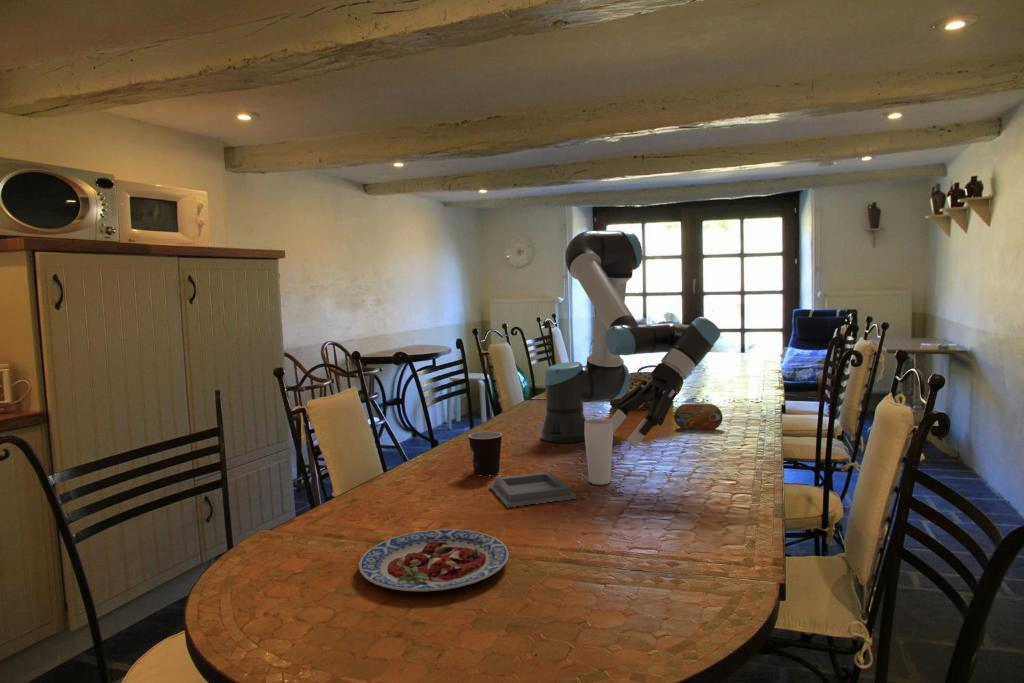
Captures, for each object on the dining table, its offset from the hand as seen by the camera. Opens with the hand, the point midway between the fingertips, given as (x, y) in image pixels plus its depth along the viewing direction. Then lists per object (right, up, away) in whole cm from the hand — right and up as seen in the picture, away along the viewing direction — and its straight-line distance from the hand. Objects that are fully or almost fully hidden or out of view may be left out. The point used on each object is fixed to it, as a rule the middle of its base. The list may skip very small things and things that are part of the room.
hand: (618, 438), depth 162 cm
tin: (+35, -5, +56) cm, 66 cm away
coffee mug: (-32, -11, +14) cm, 36 cm away
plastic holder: (-21, -12, -6) cm, 25 cm away
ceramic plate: (-39, -16, -45) cm, 62 cm away
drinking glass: (-4, -11, +1) cm, 12 cm away
